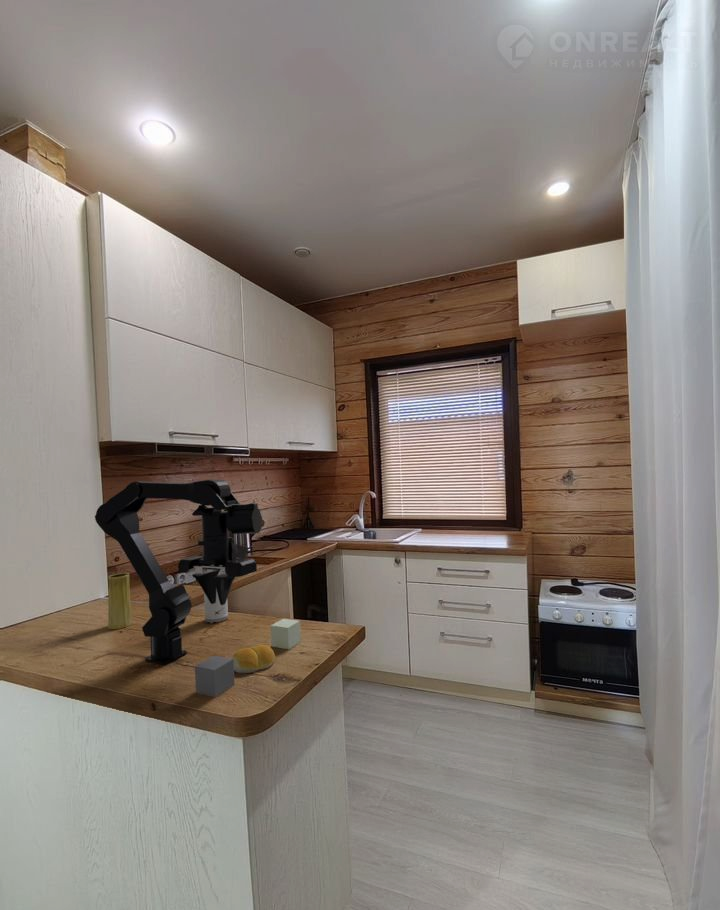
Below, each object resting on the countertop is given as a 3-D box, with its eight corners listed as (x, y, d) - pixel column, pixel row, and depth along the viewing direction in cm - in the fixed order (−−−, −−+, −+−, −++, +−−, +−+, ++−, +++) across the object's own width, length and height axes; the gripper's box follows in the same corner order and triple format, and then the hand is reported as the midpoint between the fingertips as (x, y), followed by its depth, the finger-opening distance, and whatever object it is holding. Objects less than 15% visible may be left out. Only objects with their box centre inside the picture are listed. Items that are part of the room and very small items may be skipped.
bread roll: (280, 665, 93) (279, 646, 94) (239, 678, 89) (238, 658, 89) (266, 653, 100) (265, 635, 101) (227, 664, 96) (226, 645, 96)
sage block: (271, 646, 104) (270, 625, 104) (284, 639, 108) (283, 618, 108) (288, 649, 102) (287, 627, 102) (301, 641, 106) (300, 620, 106)
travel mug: (222, 623, 122) (219, 551, 122) (200, 623, 123) (198, 551, 124) (233, 616, 128) (230, 547, 129) (212, 615, 129) (210, 547, 130)
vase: (136, 623, 125) (135, 573, 126) (115, 631, 120) (113, 578, 121) (125, 620, 129) (123, 571, 129) (103, 627, 123) (102, 576, 124)
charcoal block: (195, 692, 83) (194, 665, 83) (215, 680, 88) (214, 655, 88) (215, 697, 81) (214, 670, 81) (234, 685, 85) (233, 659, 86)
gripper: (270, 530, 103) (273, 597, 102) (211, 529, 111) (213, 591, 110) (237, 537, 93) (240, 612, 92) (175, 536, 101) (177, 604, 100)
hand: (218, 604), depth 99 cm, fingers open, 3 cm apart
